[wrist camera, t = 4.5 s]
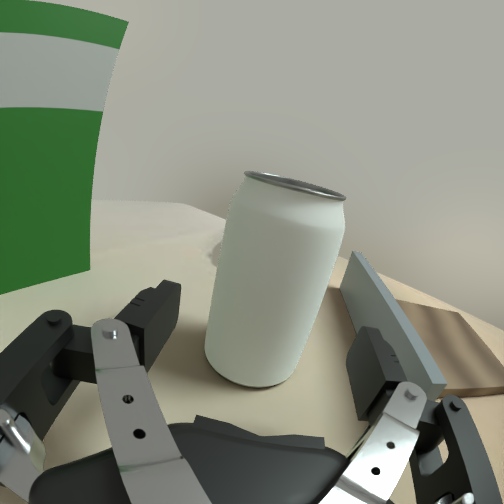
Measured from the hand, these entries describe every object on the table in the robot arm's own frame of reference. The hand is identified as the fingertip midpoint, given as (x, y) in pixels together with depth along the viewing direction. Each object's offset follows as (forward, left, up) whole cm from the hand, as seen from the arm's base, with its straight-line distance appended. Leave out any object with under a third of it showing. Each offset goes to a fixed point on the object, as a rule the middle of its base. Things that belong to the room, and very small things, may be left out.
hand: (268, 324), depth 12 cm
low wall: (-10, -10, -6) cm, 16 cm away
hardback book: (+24, -4, -7) cm, 25 cm away
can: (0, -5, -7) cm, 8 cm away
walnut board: (-20, -11, -6) cm, 24 cm away
